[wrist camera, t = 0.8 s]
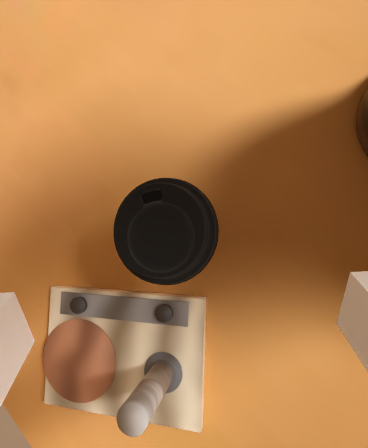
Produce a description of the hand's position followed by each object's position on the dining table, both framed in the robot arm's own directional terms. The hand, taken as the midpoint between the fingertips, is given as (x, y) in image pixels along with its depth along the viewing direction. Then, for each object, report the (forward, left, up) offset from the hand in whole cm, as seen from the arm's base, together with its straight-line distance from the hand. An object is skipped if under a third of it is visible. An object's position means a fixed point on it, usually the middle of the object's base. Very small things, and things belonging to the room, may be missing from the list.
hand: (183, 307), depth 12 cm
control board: (+14, +13, -26) cm, 32 cm away
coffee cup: (+5, -4, -26) cm, 27 cm away
